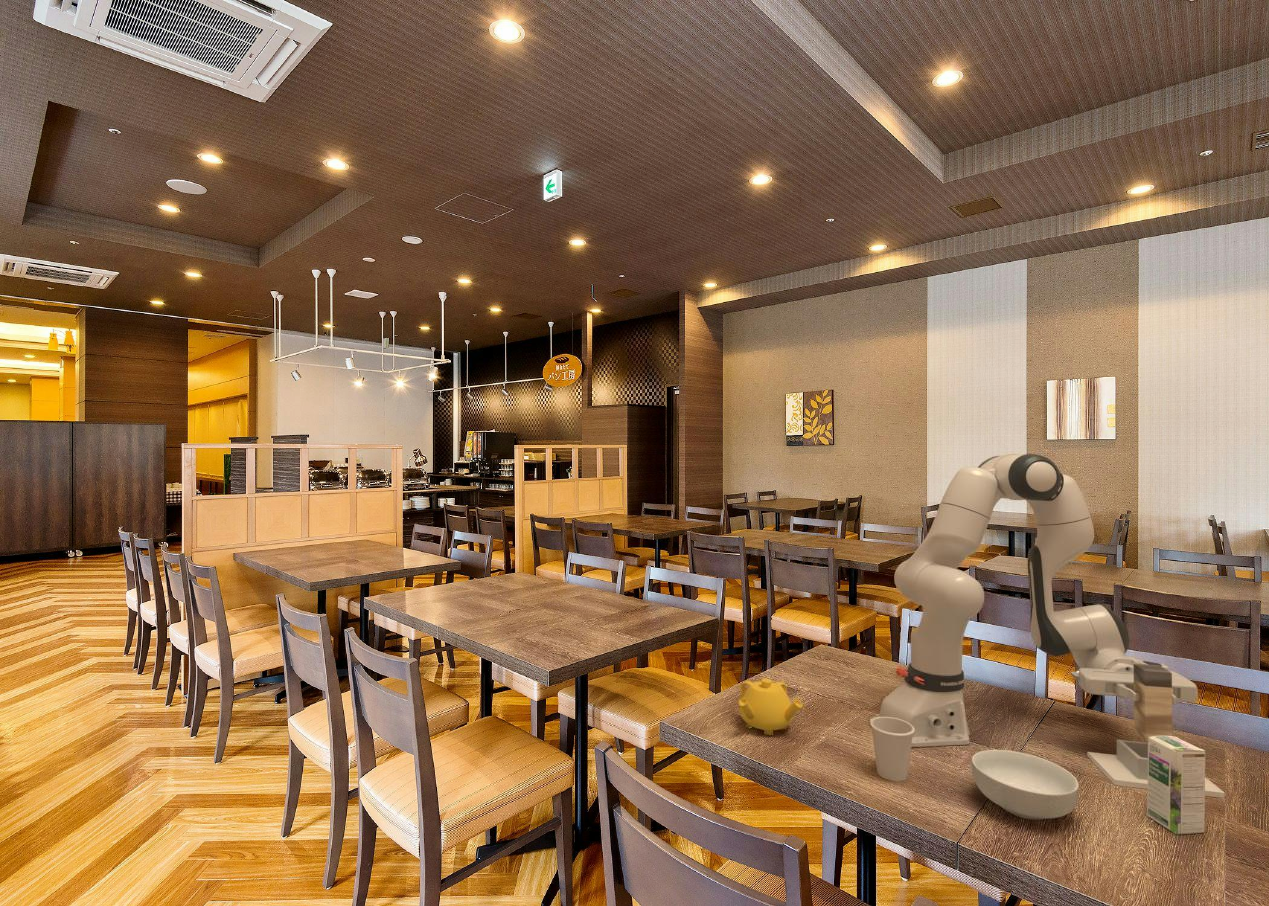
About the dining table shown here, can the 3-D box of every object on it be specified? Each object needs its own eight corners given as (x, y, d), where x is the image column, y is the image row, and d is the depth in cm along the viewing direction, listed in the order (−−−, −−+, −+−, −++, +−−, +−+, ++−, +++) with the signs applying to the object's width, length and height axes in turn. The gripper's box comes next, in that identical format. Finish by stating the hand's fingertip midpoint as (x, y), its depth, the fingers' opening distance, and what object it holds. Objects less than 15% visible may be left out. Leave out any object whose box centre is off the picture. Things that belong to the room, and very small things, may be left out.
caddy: (1224, 798, 118) (1224, 772, 118) (1114, 785, 123) (1114, 759, 123) (1186, 767, 130) (1186, 743, 130) (1087, 756, 134) (1087, 733, 134)
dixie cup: (923, 780, 124) (924, 730, 124) (890, 788, 121) (890, 736, 121) (893, 761, 132) (893, 714, 132) (861, 767, 129) (861, 719, 129)
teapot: (739, 739, 142) (739, 690, 142) (733, 714, 155) (733, 670, 155) (803, 742, 141) (803, 692, 141) (791, 716, 155) (792, 671, 155)
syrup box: (1145, 816, 112) (1145, 735, 112) (1175, 814, 113) (1175, 734, 113) (1175, 835, 107) (1175, 750, 107) (1206, 833, 107) (1207, 749, 107)
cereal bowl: (1102, 826, 109) (1102, 786, 109) (1029, 843, 105) (1029, 800, 105) (1018, 778, 126) (1018, 743, 126) (951, 790, 121) (951, 754, 121)
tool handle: (1172, 743, 124) (1171, 672, 124) (1145, 740, 125) (1145, 670, 125) (1159, 733, 128) (1159, 665, 128) (1133, 731, 129) (1133, 663, 129)
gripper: (1067, 657, 142) (1095, 678, 128) (1174, 665, 136) (1214, 688, 123) (1067, 685, 142) (1095, 709, 128) (1174, 694, 136) (1215, 720, 123)
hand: (1154, 699), depth 126 cm, fingers closed on tool handle, 4 cm apart
